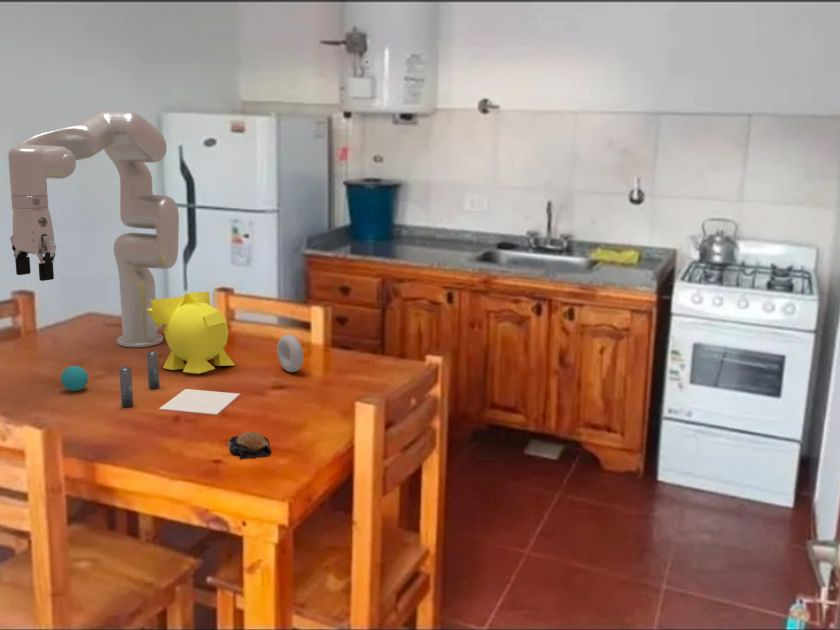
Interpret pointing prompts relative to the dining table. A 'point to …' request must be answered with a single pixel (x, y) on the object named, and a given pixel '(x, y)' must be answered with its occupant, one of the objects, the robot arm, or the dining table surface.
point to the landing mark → (200, 401)
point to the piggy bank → (192, 332)
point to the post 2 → (153, 370)
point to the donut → (290, 353)
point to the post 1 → (126, 387)
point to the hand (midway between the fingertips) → (35, 277)
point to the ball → (74, 378)
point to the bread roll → (249, 446)
